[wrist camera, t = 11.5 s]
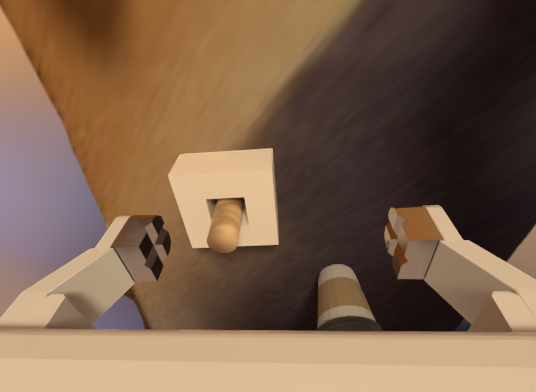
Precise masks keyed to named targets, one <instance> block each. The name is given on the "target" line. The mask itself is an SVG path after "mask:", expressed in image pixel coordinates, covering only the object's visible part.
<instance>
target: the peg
mask: <svg viewBox="0 0 536 392" xmlns="http://www.w3.org/2000/svg"><path fill="white" fill-rule="evenodd" d="M243 203H244V197H240V198H221V199H217V203H216V207H215V211H214V214H213V218H212V222H211V226H210V230H209V233H208V237H207V244H208V246H209V247H210V248H211V249H212V250H214V251H216V252H219V253H229V252H231V251H233V250H235V249H236V247H237V244H238V237H239V230H240V224H241V217H242V210H243Z"/></svg>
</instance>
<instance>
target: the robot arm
mask: <svg viewBox="0 0 536 392" xmlns="http://www.w3.org/2000/svg"><path fill="white" fill-rule="evenodd" d="M388 217H389V220H390V223H389V224H387V225H386V228H385V244H386V248H387V251H388V253H390V254H391V255H392V256H393V259H392V265H393V268H394V271H395V273H396V276H397V279H425V280H424V281H425V282H427V283H428V284H429V285H430V286H431V287H432V288H433V289H434V290H435V291H436V292H437V293H438V294H439V295H440V296H442V297H443V298H444V299H445V300H446V301H447V302H448V303H449V304H450V305H451V306H452V307H453V308H454V309H455V310H457V311H458V312H459V313H460V314H461V315H462V316H463V317H464V318H465V319H466V320H467V321H468V322H469V323H470V324H472V325H471V327H470V328H469V330H468V331H467V332H442V331H284V330H146V329H138V330H137V329H135V330H134V329H95V328H94V327H93V326H92V324H93V323H94V322H95V321H96V320H97V319H98V318H99V317H100V316H101V315H102V314H103V313H104V312H106V311H107V310H108V309H109V308H110V307H111V306H112V305H113V304H114V303H115V302H116V301H117V300H118V299H119V298H120V297H121V296H122V295H123V294H124V293H125V292H126V291H127V290H128V289H129V288H130V287H131V286H132V285H133V284H134V282H150V281H157V280H158V278H159V276H160V273H161V271H162V268H163V264H162V260H164V259H165V258H166V257H167V256H168V254H169V251H170V245H171V240H170V236H169V233H168V231H166V230H165V229H163V228H162V227H163V225H164V222H163V219H162V217H161V216H159V215H133V216H119V217H117V218H115V220H114V221H113V223H112V224H111V226H110V227H109V228H108V230H107V231H106V233H105V234H104V236H103V237H102V238H101V240H100V241H99V243H98V244H97V246H96V247H95V248H93V249H89V250H88V251H86V252H84V253H83V254H81V255H80V256H78V257H76V258H75V259H73V260H72V261H70V262H69V263H67V264H66V265H64V266H63V267H61V268H59V269H58V270H56V271H55V272H53V273H51V274H50V275H48V276H47V277H45V278H44V279H42V280H41V281H39V282H37V283H36V284H34V285H33V286H31V287H30V288H28V289H27V290H25V291H23V292H22V293H21V294H20V295H19V296H18V297H17V298H16V300H15V301H14V302H13V303H12V305H11V306H10V307H9V308H8V309H7V311H6V312H5V313H4V314H3V315H2V317H1V318H0V392H536V279H534V278H532V277H531V276H529V275H527V274H525V273H524V272H522V271H520V270H519V269H517V268H515V267H513V266H512V265H510V264H508V263H507V262H505V261H503V260H501V259H500V258H498V257H496V256H495V255H493V254H491V253H490V252H488V251H486V250H484V249H483V248H481V247H479V246H478V245H476V244H474V243H472V242H471V241H469V240H463V239H462V237H461V236H460V234H459V233H458V231H457V230H456V228H455V227H454V225H453V224H452V222H451V221H450V219H449V218H448V216H447V215H446V213H445V211H444V210H443V208H442V207H441V206H439V205H428V206H412V207H391V209H390V210H389V214H388Z"/></svg>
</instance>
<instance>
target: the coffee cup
mask: <svg viewBox="0 0 536 392" xmlns="http://www.w3.org/2000/svg"><path fill="white" fill-rule="evenodd" d="M316 331H382V328H381V326H380V325H379V324H378V323H377V322H376V321H375V319H374V317H373V314H372V312H371V310H370V307H369V305H368V303H367V300H366V298H365V296H364V294H363V291H362V289H361V287H360V284H359V282H358V280H357V277H356V275H355V274H354V272H353V271H352V269H351V268H350V267H348V266H346V265H342V264H335V265H330V266H327V267H325V268H324V269H322V271H321V272H320V274H319V279H318V329H317V330H316Z"/></svg>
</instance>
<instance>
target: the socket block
mask: <svg viewBox="0 0 536 392" xmlns="http://www.w3.org/2000/svg"><path fill="white" fill-rule="evenodd" d="M168 177H169V180H170V183H171V186H172V189H173V192H174V195H175V198H176V201H177V204H178V207H179V210H180V213H181V216H182V219H183V222H184V224H185V227H186V230H187V233H188V236H189V239H190V242H191V245H192V248H209V246H208V244H207V237H208V233H209V230H210V226H211V222H212V218H213V214H214V211H215V207H216V203H217V199H221V198H240V197H244V199H245V202H244V203H243V210H242V217H241V224H240V230H239V237H238V244H237V246H258V245H279V243H278V210H277V197H276V185H275V172H274V160H273V148H270V149H254V150H238V151H222V152H206V153H190V154H180V155H179V157H178V158H177V160H176V162H175V164H174V166H173V167H172V169H171V171H170V173H169V175H168Z"/></svg>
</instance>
